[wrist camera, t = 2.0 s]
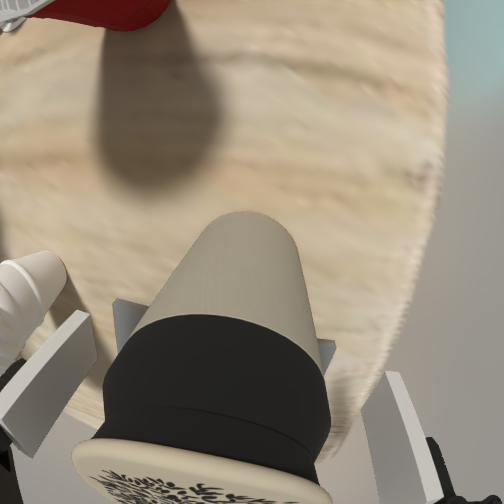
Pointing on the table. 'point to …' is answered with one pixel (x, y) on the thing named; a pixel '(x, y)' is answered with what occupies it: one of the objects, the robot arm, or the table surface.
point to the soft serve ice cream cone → (26, 299)
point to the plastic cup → (88, 11)
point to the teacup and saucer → (11, 24)
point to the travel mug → (217, 382)
